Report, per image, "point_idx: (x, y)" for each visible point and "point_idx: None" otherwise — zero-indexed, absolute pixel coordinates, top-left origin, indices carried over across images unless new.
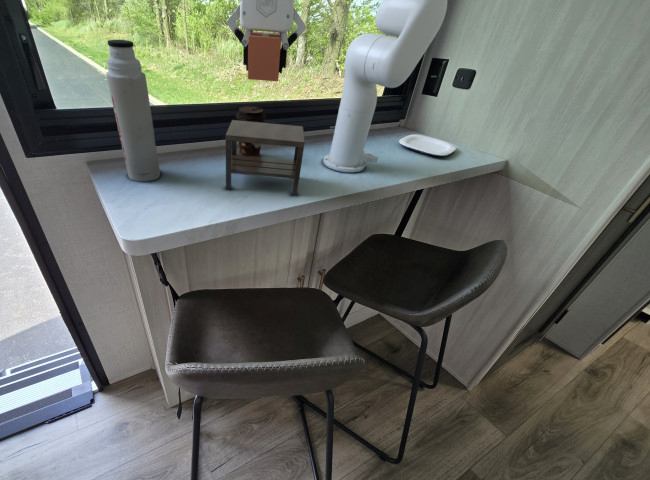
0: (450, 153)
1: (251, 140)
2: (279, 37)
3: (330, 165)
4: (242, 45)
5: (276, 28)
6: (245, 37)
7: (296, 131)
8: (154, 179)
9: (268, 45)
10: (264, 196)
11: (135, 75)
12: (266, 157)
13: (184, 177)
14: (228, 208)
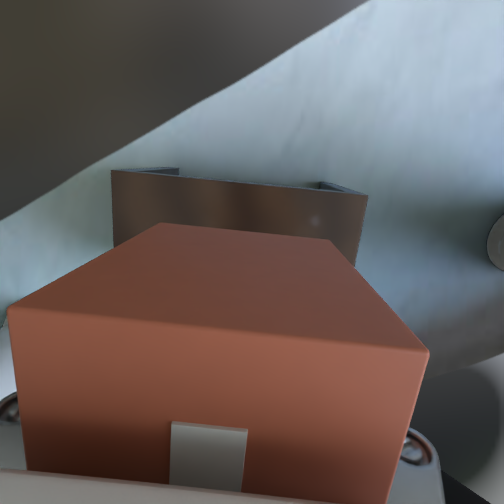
0: None
1: (282, 186)
2: (31, 380)
3: None
4: (418, 433)
5: (17, 494)
6: (421, 488)
7: None
8: (500, 217)
9: (183, 291)
10: (242, 156)
11: None
12: None
13: (428, 237)
14: (328, 84)
